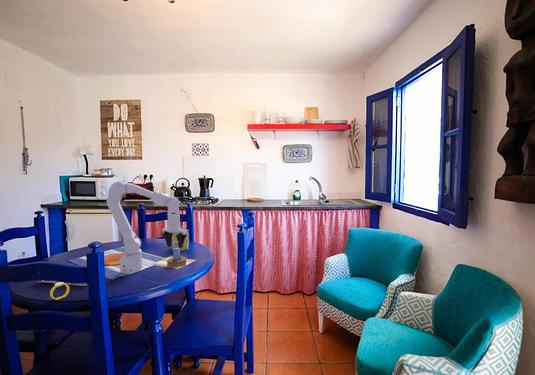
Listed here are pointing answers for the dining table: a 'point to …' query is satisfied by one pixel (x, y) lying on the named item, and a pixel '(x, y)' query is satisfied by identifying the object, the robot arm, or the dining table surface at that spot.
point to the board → (164, 264)
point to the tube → (58, 282)
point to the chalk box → (175, 241)
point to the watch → (58, 286)
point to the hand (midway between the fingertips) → (175, 247)
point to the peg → (176, 254)
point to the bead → (176, 262)
